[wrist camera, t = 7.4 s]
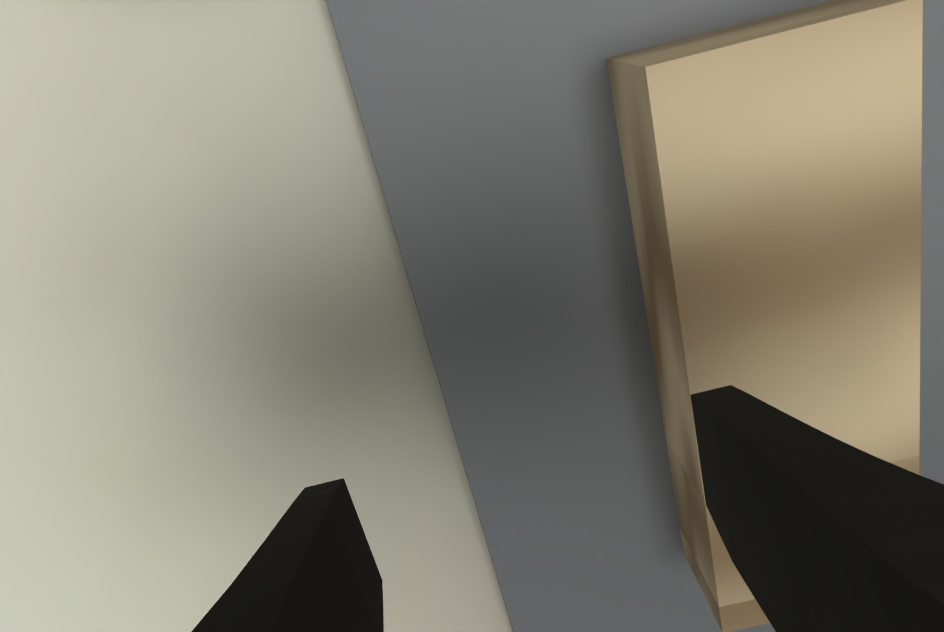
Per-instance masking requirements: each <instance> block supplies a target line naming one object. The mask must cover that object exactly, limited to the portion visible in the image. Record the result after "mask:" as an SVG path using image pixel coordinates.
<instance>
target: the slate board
mask: <svg viewBox="0 0 944 632" xmlns="http://www.w3.org/2000/svg"><path fill="white" fill-rule="evenodd" d="M326 1H327V5H328V8H329V12H330V15H331V18H332V22H333V25H334V29H335V32H336V35H337V39H338V42H339V45H340V49H341V52H342V56H343V59H344V62H345V66H346V69H347V72H348V76H349V79H350V83H351V86H352V89H353V93H354V96H355V100H356V103H357V106H358V110H359V113H360V116H361V120H362V123H363V127H364V130H365V133H366V137H367V140H368V143H369V147H370V150H371V154H372V157H373V160H374V164H375V167H376V170H377V174H378V177H379V181H380V184H381V187H382V191H383V194H384V198H385V201H386V204H387V208H388V211H389V214H390V218H391V221H392V225H393V228H394V231H395V235H396V238H397V241H398V245H399V248H400V252H401V255H402V258H403V262H404V265H405V268H406V272H407V275H408V279H409V282H410V285H411V289H412V292H413V296H414V299H415V302H416V306H417V309H418V312H419V316H420V319H421V323H422V326H423V329H424V333H425V336H426V339H427V343H428V346H429V350H430V353H431V356H432V360H433V363H434V366H435V370H436V373H437V377H438V380H439V383H440V387H441V390H442V394H443V397H444V400H445V404H446V407H447V410H448V414H449V417H450V421H451V424H452V427H453V431H454V434H455V437H456V441H457V444H458V448H459V451H460V454H461V458H462V461H463V464H464V468H465V471H466V475H467V478H468V481H469V485H470V488H471V492H472V495H473V498H474V502H475V505H476V508H477V512H478V515H479V519H480V522H481V525H482V529H483V532H484V535H485V539H486V542H487V546H488V549H489V552H490V556H491V559H492V563H493V566H494V569H495V573H496V576H497V579H498V583H499V586H500V590H501V593H502V596H503V600H504V603H505V606H506V610H507V613H508V617H509V620H510V623H511V627H512V630H513V632H722V631H721V629H720V627H719V625H718V623H717V621H716V619H715V617H714V615H713V612H712V610H711V608H710V606H709V604H708V602H707V600H706V598H705V596H704V594H703V592H702V590H701V588H700V585H699V583H698V581H697V579H696V577H695V575H694V573H693V571H692V569H691V567H690V565H689V563H688V561H687V559H686V556H685V554H684V552H683V545H682V539H681V533H680V526H679V520H678V513H677V507H676V501H675V494H674V488H673V481H672V475H671V468H670V462H669V456H668V449H667V443H666V436H665V430H664V424H663V417H662V411H661V404H660V398H659V392H658V385H657V379H656V372H655V366H654V359H653V353H652V347H651V340H650V334H649V327H648V321H647V315H646V308H645V302H644V295H643V289H642V283H641V276H640V270H639V263H638V257H637V250H636V244H635V238H634V231H633V225H632V218H631V212H630V206H629V199H628V193H627V186H626V180H625V174H624V167H623V161H622V154H621V148H620V142H619V135H618V129H617V122H616V116H615V109H614V103H613V97H612V90H611V84H610V77H609V71H608V65H607V58H609V57H613V56H617V55H621V54H624V53H628V52H632V51H636V50H640V49H644V48H648V47H652V46H656V45H660V44H664V43H667V42H671V41H675V40H679V39H683V38H687V37H691V36H695V35H699V34H703V33H707V32H710V31H714V30H718V29H722V28H726V27H730V26H734V25H738V24H742V23H746V22H750V21H753V20H757V19H761V18H765V17H769V16H773V15H777V14H781V13H785V12H789V11H793V10H796V9H800V8H804V7H808V6H812V5H816V4H820V3H824V2H828V1H832V0H326ZM919 475H920V476H923V477H926V478H928V479H931V480H933V481H936V482H939V483H941V484H944V0H923V35H922V170H921V306H920V442H919ZM731 632H776V631H775V630H774V628H773V627H772V625H771V623H767V624H762V625H758V626H754V627H749V628H745V629H740V630H736V631H731Z"/></svg>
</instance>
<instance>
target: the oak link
mask: <svg viewBox="0 0 944 632" xmlns="http://www.w3.org/2000/svg"><path fill="white" fill-rule="evenodd" d="M922 35H923V0H832V1H828V2H824V3H820V4H816V5H812V6H808V7H804V8H800V9H796V10H793V11H789V12H785V13H781V14H777V15H773V16H769V17H765V18H761V19H757V20H753V21H750V22H746V23H742V24H738V25H734V26H730V27H726V28H722V29H718V30H714V31H710V32H707V33H703V34H699V35H695V36H691V37H687V38H683V39H679V40H675V41H671V42H667V43H664V44H660V45H656V46H652V47H648V48H644V49H640V50H636V51H632V52H628V53H624V54H621V55H617V56H613V57H609V58H607V65H608V71H609V77H610V84H611V90H612V97H613V103H614V109H615V116H616V122H617V129H618V135H619V142H620V148H621V154H622V161H623V167H624V174H625V180H626V186H627V193H628V199H629V206H630V212H631V218H632V225H633V231H634V238H635V244H636V250H637V257H638V263H639V270H640V276H641V283H642V289H643V295H644V302H645V308H646V315H647V321H648V327H649V334H650V340H651V347H652V353H653V359H654V366H655V372H656V379H657V385H658V392H659V398H660V404H661V411H662V417H663V424H664V430H665V436H666V443H667V449H668V456H669V462H670V468H671V475H672V481H673V488H674V494H675V501H676V507H677V513H678V520H679V526H680V533H681V539H682V545H683V552H684V554H685V556H686V559H687V561H688V563H689V565H690V567H691V569H692V571H693V573H694V575H695V577H696V579H697V581H698V583H699V585H700V588H701V590H702V592H703V594H704V596H705V598H706V600H707V602H708V604H709V606H710V608H711V610H712V612H713V615H714V617H715V619H716V621H717V623H718V625H719V627H720V629H721V631H722V632H731V631H736V630H740V629H745V628H749V627H754V626H758V625H762V624H767V623H770V622H769V620H768V619H767V617H766V615H765V614H764V612H763V611H762V609H761V607H760V606H759V604H758V603H757V601H756V599H755V598H754V596H753V595H752V593H751V591H750V590H749V588H748V586H747V585H746V583H745V582H744V580H743V578H742V577H741V575H740V573H739V572H738V570H737V569H736V567H735V565H734V564H733V562H732V560H731V558H730V556H729V553H728V551H727V549H726V547H725V545H724V543H723V541H722V539H721V537H720V534H719V532H718V530H717V528H716V526H715V523H714V521H713V519H712V517H711V515H710V512H709V510H708V508H707V506H706V502H705V495H704V488H703V481H702V474H701V467H700V460H699V453H698V446H697V438H696V431H695V424H694V417H693V410H692V403H691V396H690V395H691V394H695V393H700V392H704V391H708V390H712V389H716V388H720V387H724V386H729V385H732V386H734V387H736V388H738V389H740V390H742V391H744V392H746V393H748V394H750V395H752V396H754V397H756V398H758V399H760V400H762V401H763V402H765V403H767V404H769V405H771V406H773V407H775V408H777V409H779V410H781V411H783V412H784V413H786V414H788V415H790V416H792V417H794V418H796V419H798V420H800V421H802V422H804V423H806V424H808V425H810V426H812V427H814V428H816V429H818V430H820V431H822V432H824V433H826V434H828V435H830V436H832V437H834V438H836V439H838V440H840V441H842V442H845V443H847V444H849V445H851V446H853V447H855V448H858V449H860V450H862V451H864V452H866V453H868V454H871V455H873V456H875V457H878V458H880V459H882V460H885V461H887V462H889V463H892V464H894V465H897V466H899V467H901V468H904V469H906V470H908V471H911V472H913V473H916V474H918V475H919V442H920V306H921V170H922Z"/></svg>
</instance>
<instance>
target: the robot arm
mask: <svg viewBox="0 0 944 632" xmlns="http://www.w3.org/2000/svg"><path fill="white" fill-rule="evenodd" d="M690 396H691V403H692V410H693V417H694V424H695V431H696V438H697V446H698V453H699V460H700V467H701V474H702V481H703V488H704V495H705V502H706V506H707V508H708V510H709V512H710V515H711V517H712V519H713V521H714V523H715V526H716V528H717V530H718V532H719V534H720V537H721V539H722V541H723V543H724V545H725V547H726V549H727V551H728V553H729V556H730V558H731V560H732V562H733V564H734V565H735V567H736V569H737V570H738V572H739V573H740V575H741V577H742V578H743V580H744V582H745V583H746V585H747V586H748V588H749V590H750V591H751V593H752V595H753V596H754V598H755V599H756V601H757V603H758V604H759V606H760V607H761V609H762V611H763V612H764V614H765V615H766V617H767V619H768V620H769V622H770V623H771V625H772V627H773V628H774V630H775V631H776V632H944V484H941V483H939V482H936V481H933V480H931V479H928V478H926V477H923V476H920V475H918V474H916V473H913V472H911V471H908V470H906V469H904V468H901V467H899V466H897V465H894V464H892V463H889V462H887V461H885V460H882V459H880V458H878V457H875V456H873V455H871V454H868V453H866V452H864V451H862V450H860V449H858V448H855V447H853V446H851V445H849V444H847V443H845V442H842V441H840V440H838V439H836V438H834V437H832V436H830V435H828V434H826V433H824V432H822V431H820V430H818V429H816V428H814V427H812V426H810V425H808V424H806V423H804V422H802V421H800V420H798V419H796V418H794V417H792V416H790V415H788V414H786V413H784V412H783V411H781V410H779V409H777V408H775V407H773V406H771V405H769V404H767V403H765V402H763V401H762V400H760V399H758V398H756V397H754V396H752V395H750V394H748V393H746V392H744V391H742V390H740V389H738V388H736V387H734V386H732V385H729V386H724V387H720V388H716V389H712V390H708V391H704V392H700V393H695V394H691V395H690ZM192 632H384V631H383V591H382V579H381V576H380V573H379V571H378V568H377V565H376V563H375V560H374V557H373V555H372V552H371V550H370V547H369V544H368V542H367V539H366V536H365V534H364V531H363V528H362V526H361V523H360V520H359V518H358V515H357V513H356V510H355V507H354V505H353V502H352V499H351V497H350V494H349V491H348V489H347V486H346V483H345V481H344V478H343V479H339V480H335V481H331V482H327V483H322V484H318V485H314V486H310V487H306V488H305V489H304V490H303V491H302V492H301V493H300V495H299V496H298V497H297V498H296V500H295V501H294V502H293V503H292V505H291V506H290V507H289V509H288V510H287V511H286V513H285V514H284V515H283V517H282V518H281V519H280V521H279V522H278V523H277V525H276V526H275V528H274V529H273V530H272V532H271V533H270V534H269V536H268V537H267V538H266V540H265V541H264V542H263V544H262V545H261V546H260V548H259V549H258V550H257V551H256V553H255V554H254V555H253V557H252V558H251V559H250V561H249V562H248V563H247V565H246V566H245V567H244V569H243V570H242V571H241V572H240V574H239V575H238V576H237V578H236V579H235V580H234V582H233V583H232V584H231V585H230V587H229V588H228V589H227V590H226V591H225V593H224V594H223V595H222V596H221V597H220V598H219V600H218V601H217V602H216V603H215V604H214V606H213V607H212V608H211V609H210V610H209V612H208V613H207V614H206V615H205V616H204V618H203V619H202V620H201V621H200V622H199V624H198V625H197V626H196V627H195V628H194V630H193V631H192Z"/></svg>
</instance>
